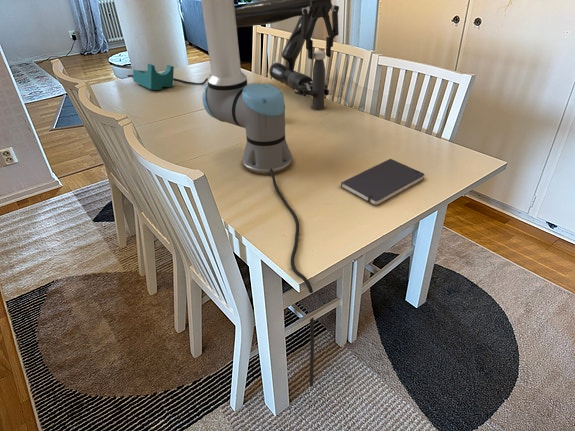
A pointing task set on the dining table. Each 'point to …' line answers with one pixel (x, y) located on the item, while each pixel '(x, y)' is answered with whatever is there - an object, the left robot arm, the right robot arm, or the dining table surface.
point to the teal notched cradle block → (154, 77)
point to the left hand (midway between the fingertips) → (322, 94)
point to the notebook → (382, 181)
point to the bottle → (318, 84)
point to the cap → (319, 55)
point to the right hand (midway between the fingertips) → (319, 57)
